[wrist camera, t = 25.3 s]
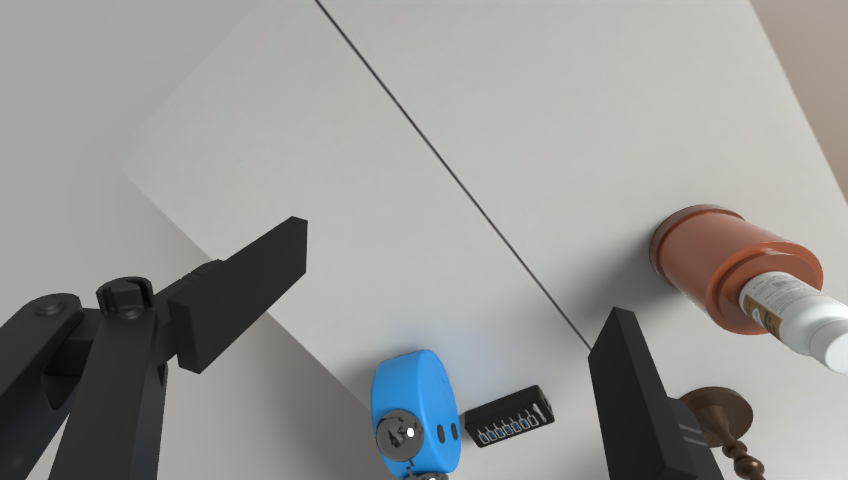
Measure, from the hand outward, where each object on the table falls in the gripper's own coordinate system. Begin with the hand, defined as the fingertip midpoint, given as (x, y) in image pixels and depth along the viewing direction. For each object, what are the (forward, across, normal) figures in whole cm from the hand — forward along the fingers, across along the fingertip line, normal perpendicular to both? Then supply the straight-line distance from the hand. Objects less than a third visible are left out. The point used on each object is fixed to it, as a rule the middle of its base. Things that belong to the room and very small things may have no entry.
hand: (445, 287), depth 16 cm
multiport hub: (+25, +10, -33) cm, 43 cm away
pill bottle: (+19, +24, -5) cm, 31 cm away
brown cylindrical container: (+29, +23, -6) cm, 38 cm away
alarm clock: (+24, -2, -30) cm, 38 cm away
